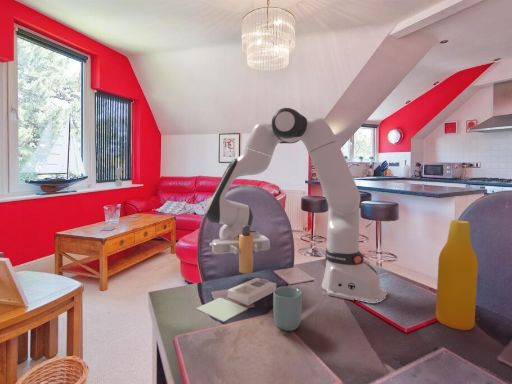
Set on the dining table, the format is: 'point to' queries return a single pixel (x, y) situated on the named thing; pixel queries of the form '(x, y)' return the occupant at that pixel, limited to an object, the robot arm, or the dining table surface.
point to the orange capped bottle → (246, 250)
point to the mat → (221, 309)
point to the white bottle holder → (251, 290)
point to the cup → (287, 307)
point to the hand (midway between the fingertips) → (246, 250)
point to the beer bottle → (457, 279)
